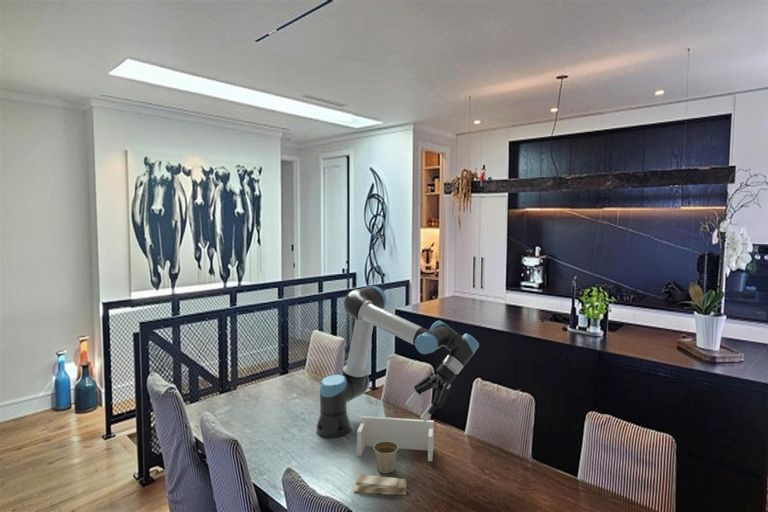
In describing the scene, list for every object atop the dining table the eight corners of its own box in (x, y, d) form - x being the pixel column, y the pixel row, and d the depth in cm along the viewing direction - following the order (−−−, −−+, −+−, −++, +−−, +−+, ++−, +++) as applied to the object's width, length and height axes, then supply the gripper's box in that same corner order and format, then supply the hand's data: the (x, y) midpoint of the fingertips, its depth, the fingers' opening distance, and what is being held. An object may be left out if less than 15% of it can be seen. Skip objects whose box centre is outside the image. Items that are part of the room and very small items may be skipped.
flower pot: (372, 463, 172) (372, 441, 172) (397, 462, 173) (397, 440, 172) (374, 476, 163) (374, 454, 162) (400, 475, 164) (400, 452, 163)
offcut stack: (353, 494, 153) (353, 484, 153) (356, 483, 160) (356, 473, 160) (405, 496, 152) (405, 486, 151) (406, 485, 158) (406, 475, 158)
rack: (356, 455, 178) (356, 426, 177) (361, 443, 187) (361, 415, 187) (432, 461, 173) (432, 431, 172) (433, 449, 183) (433, 420, 182)
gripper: (472, 385, 164) (436, 432, 160) (440, 365, 188) (407, 406, 183) (459, 372, 162) (422, 420, 158) (428, 354, 185) (395, 395, 181)
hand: (414, 412), depth 170 cm, fingers open, 13 cm apart
